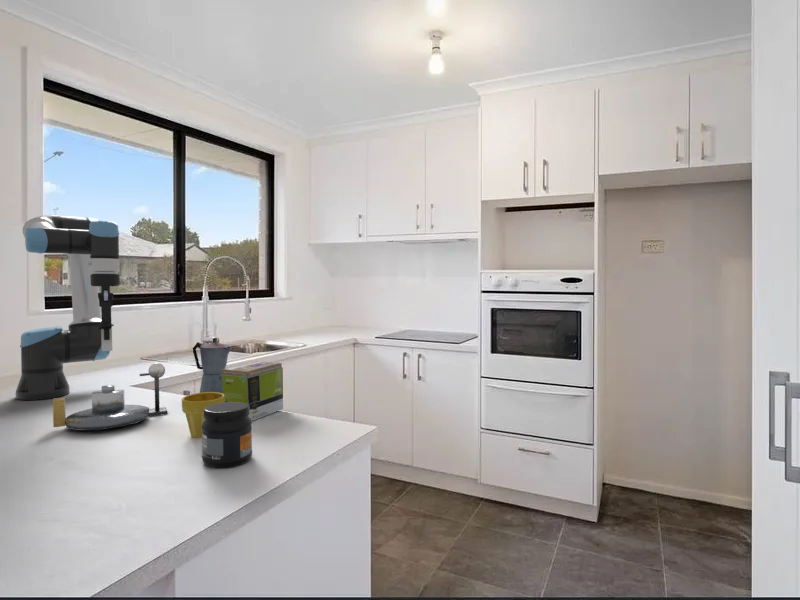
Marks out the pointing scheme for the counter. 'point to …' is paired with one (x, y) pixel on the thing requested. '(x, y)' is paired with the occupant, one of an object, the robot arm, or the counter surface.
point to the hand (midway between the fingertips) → (106, 349)
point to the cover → (107, 399)
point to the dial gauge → (156, 387)
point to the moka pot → (212, 365)
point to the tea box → (255, 387)
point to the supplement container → (226, 435)
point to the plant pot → (199, 409)
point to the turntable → (97, 417)
